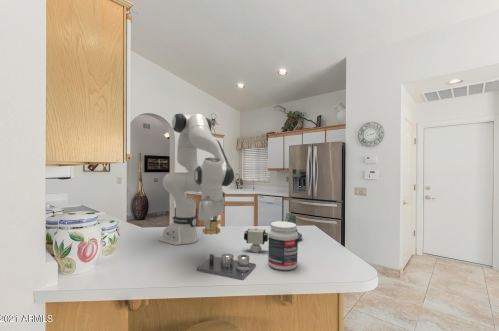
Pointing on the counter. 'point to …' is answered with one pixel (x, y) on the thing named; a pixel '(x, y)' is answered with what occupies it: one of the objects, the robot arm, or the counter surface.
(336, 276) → the counter surface
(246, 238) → the pneumatic valve
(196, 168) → the robot arm
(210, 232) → the gear
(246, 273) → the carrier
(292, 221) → the tree stump
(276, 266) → the supplement tub
